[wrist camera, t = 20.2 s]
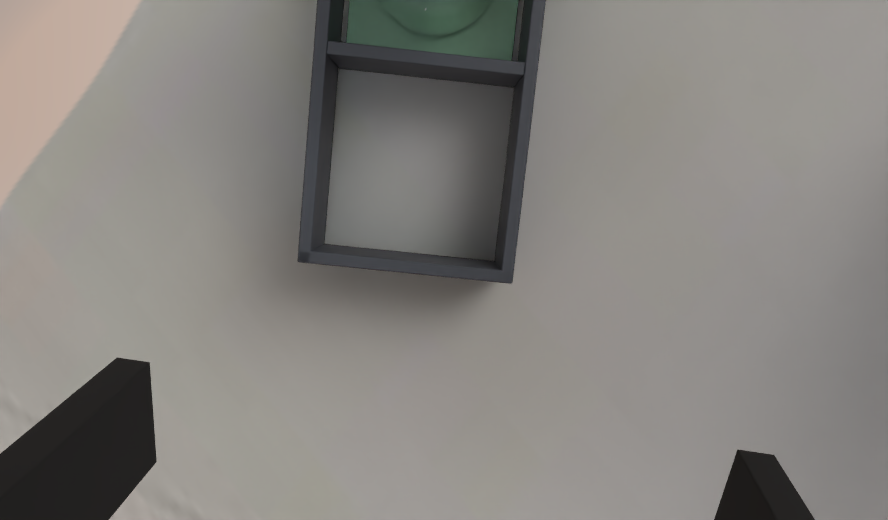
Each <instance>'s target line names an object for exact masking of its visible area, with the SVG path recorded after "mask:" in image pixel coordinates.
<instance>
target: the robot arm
mask: <svg viewBox="0 0 888 520" xmlns="http://www.w3.org/2000/svg"><path fill="white" fill-rule="evenodd" d="M155 463H156V448H155V434H154V419H153V405H152V391H151V376H150V362H143V361H136V360H129V359H123V358H116V359H115V360H114V361H112V362H111V363H110V364H109V365H108V366H106V367H105V368H104V369H103V370H101V371H100V372H99V373H98V374H97V375H95V376H94V377H93V378H92V379H91V380H89V381H88V382H87V383H86V384H84V385H83V386H82V387H81V388H80V389H78V390H77V391H76V392H75V393H74V394H72V395H71V396H70V397H69V398H67V399H66V400H65V401H64V402H63V403H61V404H60V405H59V406H58V407H57V408H55V409H54V410H53V411H52V412H50V413H49V414H48V415H47V416H46V417H44V418H43V419H42V420H41V421H40V422H38V423H37V424H36V425H35V426H33V427H32V428H31V429H30V430H29V431H27V432H26V433H25V434H24V435H23V436H21V437H20V438H19V439H18V440H16V441H15V442H14V443H13V444H12V445H10V446H9V447H8V448H7V449H6V450H4V451H3V452H2V453H1V454H0V520H109V519H110V517H111V516H112V515H113V514H114V513H115V511H116V510H117V509H118V508H119V507H120V505H121V504H122V503H123V502H124V500H125V499H126V498H127V497H128V496H129V494H130V493H131V492H132V491H133V490H134V488H135V487H136V486H137V485H138V483H139V482H140V481H141V480H142V479H143V477H144V476H145V475H146V474H147V473H148V471H149V470H150V469H151V468H152V467H153V465H154V464H155ZM714 520H815V519H814V518H813V516H812V514H811V513H810V511H809V510H808V508H807V507H806V505H805V503H804V502H803V500H802V499H801V497H800V495H799V494H798V492H797V491H796V489H795V488H794V486H793V484H792V483H791V481H790V480H789V478H788V477H787V475H786V473H785V472H784V470H783V469H782V467H781V465H780V464H779V462H778V461H777V459H776V458H775V456H774V455H770V454H764V453H757V452H750V451H743V450H737V453H736V456H735V459H734V462H733V465H732V468H731V471H730V474H729V477H728V480H727V483H726V486H725V489H724V492H723V495H722V498H721V501H720V504H719V507H718V510H717V513H716V516H715V519H714Z"/></svg>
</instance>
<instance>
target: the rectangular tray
mask: <svg viewBox="0 0 888 520" xmlns="http://www.w3.org/2000/svg"><path fill="white" fill-rule="evenodd" d="M518 1H519V0H491V1H490V2H489V4H488V6H487V7H486V9H485V10H484V12H483V13H482V14H481V15H480V17H479V18H478V19H477V20H476V21H474V22H473V23H472V24H471V25H469V26H468V27H466V28H464V29H462V30H460V31H458V32H456V33H452V34H449V35H443V36H429V35H423V34H419V33H416V32H414V31H411V30H409V29H407V28H406V27H404V26H402V25H401V24H400V23H398V22H397V21H396V20H395V19H394V18H393V17H392V16H391V15H390V14H389V13H388V11H387V10H386V9H385V7H384V5H383V4H382V2H381V0H350V2H349V14H348V26H347V39H346V43H345V42H341V31H342V19H343V6H344V0H317V13H316V26H315V39H314V52H313V66H312V79H311V92H310V105H309V118H308V131H307V144H306V157H305V170H304V184H303V197H302V210H301V223H300V236H299V249H298V262H302V263H312V264H322V265H332V266H342V267H352V268H362V269H371V270H381V271H391V272H401V273H411V274H421V275H431V276H441V277H451V278H461V279H471V280H480V281H490V282H500V283H510V284H511V283H512V282H513V273H514V264H515V256H516V247H517V239H518V230H519V222H520V214H521V205H522V197H523V188H524V180H525V171H526V163H527V154H528V146H529V137H530V129H531V121H532V112H533V104H534V95H535V87H536V78H537V70H538V61H539V53H540V44H541V36H542V28H543V19H544V11H545V2H546V0H524V8H523V16H522V25H521V34H520V43H519V51H518V60H517V61H512V54H513V45H514V36H515V27H516V18H517V9H518ZM338 68H340V69H349V70H359V71H368V72H377V73H386V74H395V75H405V76H414V77H423V78H432V79H441V80H450V81H460V82H469V83H478V84H487V85H496V86H506V87H514V95H513V104H512V113H511V121H510V130H509V139H508V147H507V156H506V165H505V174H504V182H503V191H502V200H501V209H500V217H499V226H498V235H497V244H496V252H495V261H486V260H477V259H467V258H457V257H447V256H437V255H427V254H418V253H408V252H398V251H388V250H378V249H368V248H359V247H349V246H339V245H329V244H324V241H325V228H326V216H327V204H328V191H329V179H330V167H331V154H332V142H333V130H334V117H335V105H336V93H337V80H338Z"/></svg>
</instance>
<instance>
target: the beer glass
mask: <svg viewBox="0 0 888 520" xmlns="http://www.w3.org/2000/svg"><path fill="white" fill-rule="evenodd" d="M490 1H491V0H381V2H382V4H383V5H384V7H385V9H386V10H387V11H388V13H389V14H390V15H391V16H392V17H393V18H394V19H395V20H396V21H397V22H398V23H400V24H401V25H402V26H404V27H406V28H407V29H409V30H411V31H414V32H416V33H419V34H423V35H429V36H443V35H449V34H452V33H456V32H458V31H460V30H462V29H464V28H466V27H468V26H469V25H471V24H472V23H473V22H474V21H476V20H477V19H478V18H479V17H480V15H481V14H482V13H483V12H484V10H485V9H486V7H487V6H488V4H489V2H490Z"/></svg>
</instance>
